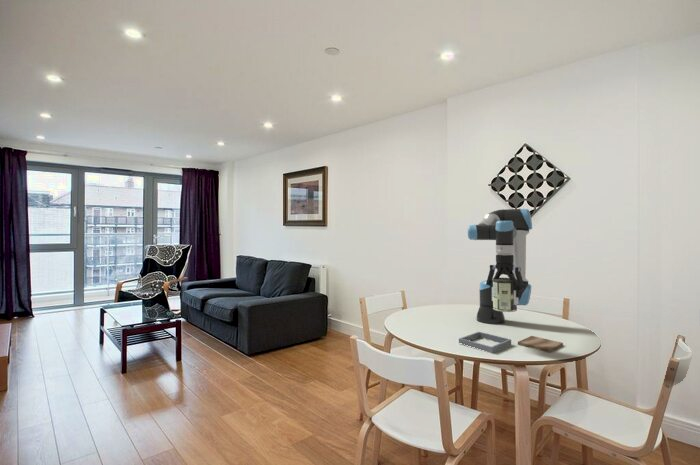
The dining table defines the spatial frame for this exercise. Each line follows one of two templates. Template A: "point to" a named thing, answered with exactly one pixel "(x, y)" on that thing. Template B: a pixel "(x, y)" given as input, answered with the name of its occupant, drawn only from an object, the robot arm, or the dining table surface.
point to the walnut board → (540, 343)
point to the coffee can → (503, 295)
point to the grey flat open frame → (503, 343)
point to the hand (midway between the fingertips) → (504, 302)
